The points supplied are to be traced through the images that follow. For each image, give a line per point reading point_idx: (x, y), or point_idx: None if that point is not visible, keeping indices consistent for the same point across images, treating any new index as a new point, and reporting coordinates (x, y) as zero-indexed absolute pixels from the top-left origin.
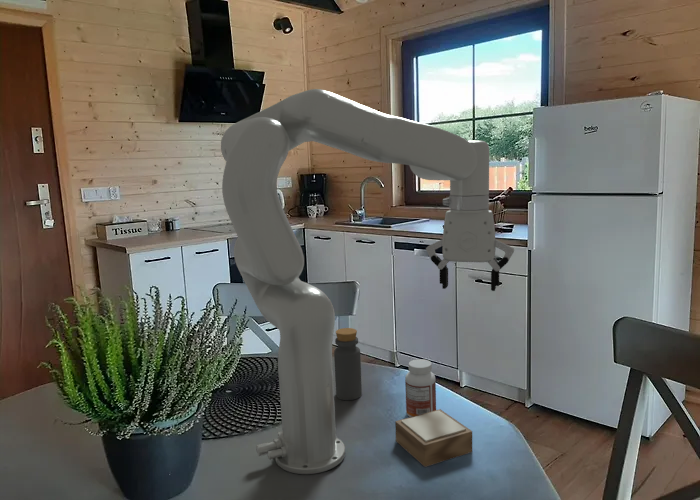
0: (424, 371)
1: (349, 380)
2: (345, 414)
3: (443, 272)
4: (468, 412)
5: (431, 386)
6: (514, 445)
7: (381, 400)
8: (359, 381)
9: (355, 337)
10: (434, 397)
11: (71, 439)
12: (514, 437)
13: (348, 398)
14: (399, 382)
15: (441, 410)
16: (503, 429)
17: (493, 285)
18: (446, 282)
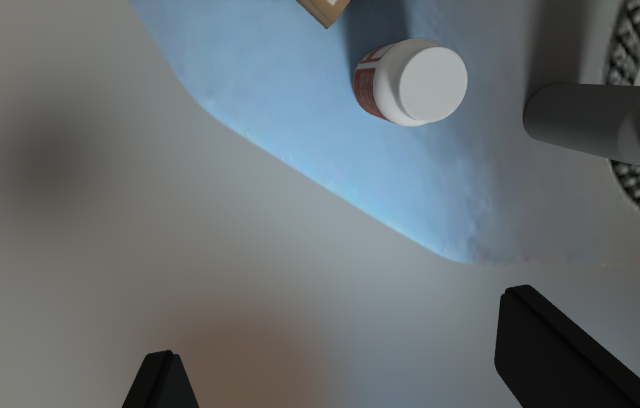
0: (408, 55)
1: (579, 90)
2: (538, 15)
3: (636, 389)
4: (291, 129)
5: (376, 65)
6: (155, 10)
7: (477, 113)
8: (551, 114)
9: None
10: (362, 79)
11: None
12: (167, 49)
13: (548, 86)
14: (459, 209)
15: (329, 16)
16: (200, 78)
17: (142, 385)
18: (525, 337)
